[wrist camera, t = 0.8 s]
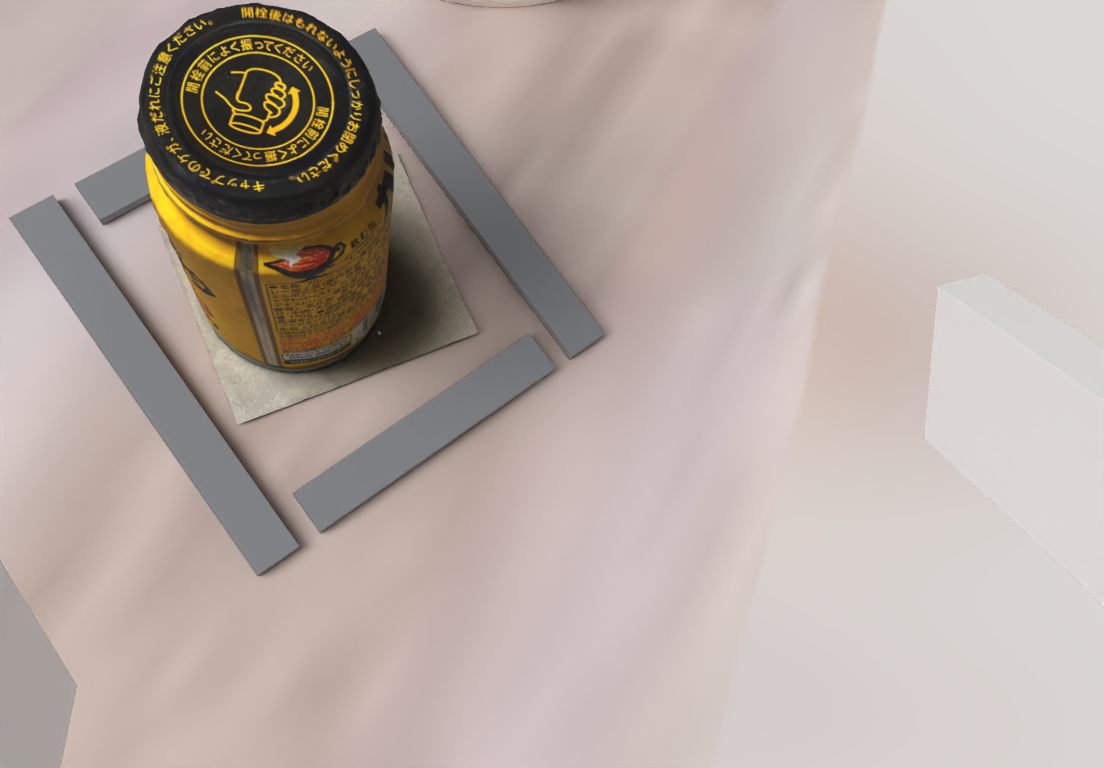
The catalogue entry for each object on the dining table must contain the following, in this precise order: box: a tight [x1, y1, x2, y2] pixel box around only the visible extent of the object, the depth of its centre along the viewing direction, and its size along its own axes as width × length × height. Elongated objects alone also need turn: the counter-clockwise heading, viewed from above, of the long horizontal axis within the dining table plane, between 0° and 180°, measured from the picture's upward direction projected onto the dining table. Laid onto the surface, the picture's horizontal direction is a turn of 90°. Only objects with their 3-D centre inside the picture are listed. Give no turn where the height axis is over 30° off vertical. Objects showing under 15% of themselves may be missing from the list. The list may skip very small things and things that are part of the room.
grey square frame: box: [9, 28, 605, 576], centre depth 32 cm, size 14×14×1 cm
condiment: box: [137, 3, 478, 425], centre depth 27 cm, size 7×8×12 cm
